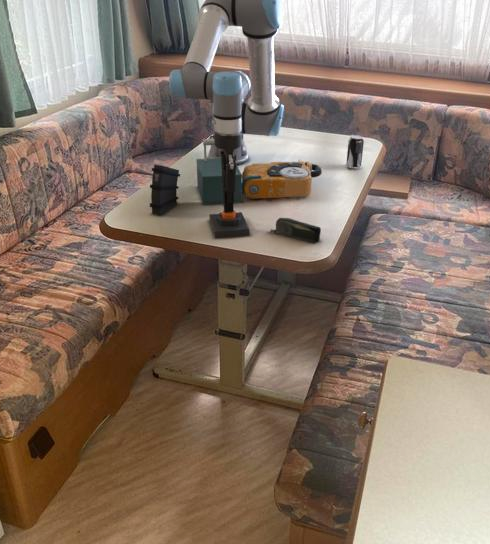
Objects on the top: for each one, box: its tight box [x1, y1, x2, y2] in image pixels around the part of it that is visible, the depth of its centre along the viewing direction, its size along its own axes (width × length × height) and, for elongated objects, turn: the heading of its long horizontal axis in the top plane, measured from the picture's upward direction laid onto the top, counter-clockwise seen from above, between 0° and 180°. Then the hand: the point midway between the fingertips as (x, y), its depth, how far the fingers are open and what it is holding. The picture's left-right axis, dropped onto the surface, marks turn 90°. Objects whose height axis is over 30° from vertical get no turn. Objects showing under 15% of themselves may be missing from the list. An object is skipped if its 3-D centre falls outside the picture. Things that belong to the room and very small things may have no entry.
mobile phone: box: [270, 217, 322, 244], centre depth 167 cm, size 5×3×15 cm
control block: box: [208, 211, 250, 239], centre depth 171 cm, size 12×10×4 cm
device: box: [241, 159, 323, 200], centre depth 199 cm, size 23×8×30 cm
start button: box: [221, 209, 237, 219], centre depth 170 cm, size 4×4×2 cm
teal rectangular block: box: [196, 164, 243, 206], centre depth 192 cm, size 16×13×9 cm
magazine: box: [149, 164, 181, 217], centre depth 180 cm, size 4×13×15 cm, turn 160°
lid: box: [195, 138, 242, 179], centre depth 188 cm, size 16×13×8 cm
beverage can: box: [345, 134, 365, 170], centre depth 219 cm, size 6×6×12 cm
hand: (228, 211), depth 169 cm, fingers closed
